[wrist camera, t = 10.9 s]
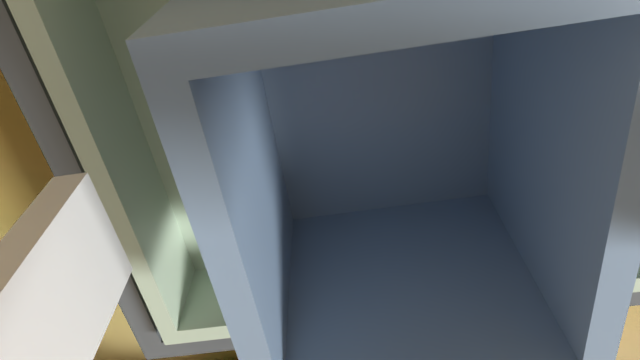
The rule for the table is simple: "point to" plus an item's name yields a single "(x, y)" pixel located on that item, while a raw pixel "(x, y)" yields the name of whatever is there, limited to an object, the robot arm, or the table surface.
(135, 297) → the bottom crate
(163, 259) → the top crate
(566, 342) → the small crate
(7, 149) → the table surface
